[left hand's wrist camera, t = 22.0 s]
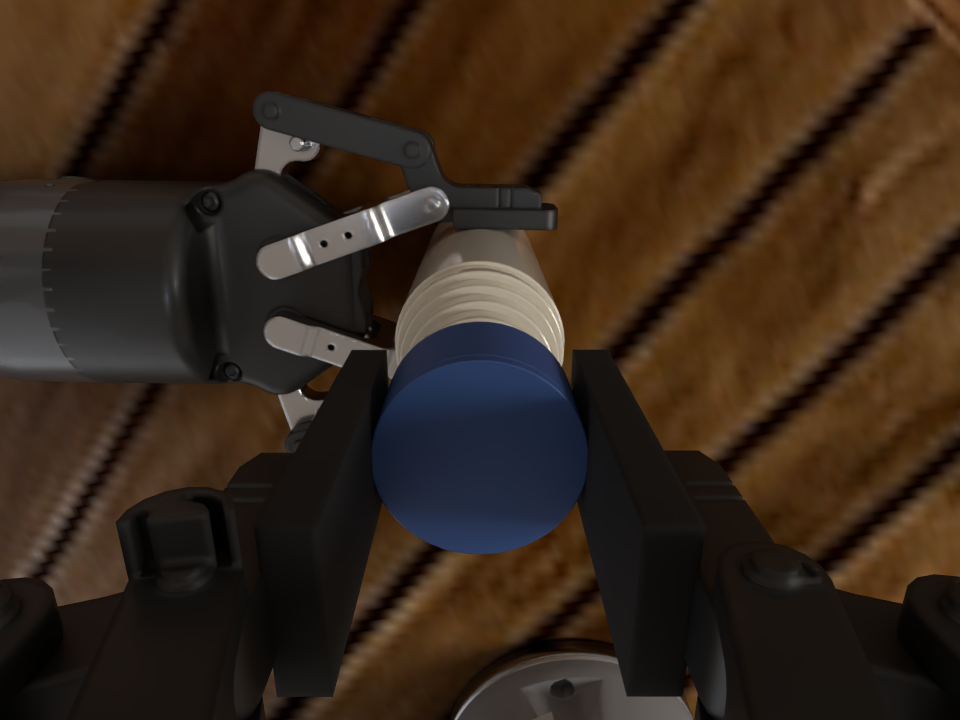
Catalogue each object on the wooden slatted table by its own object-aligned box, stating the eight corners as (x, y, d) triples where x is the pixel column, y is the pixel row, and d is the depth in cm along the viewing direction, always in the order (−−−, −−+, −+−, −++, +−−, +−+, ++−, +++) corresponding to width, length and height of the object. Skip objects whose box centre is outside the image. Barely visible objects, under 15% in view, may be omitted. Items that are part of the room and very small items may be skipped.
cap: (354, 366, 14) (330, 414, 12) (528, 289, 14) (537, 323, 11) (437, 514, 15) (429, 583, 13) (599, 449, 15) (621, 509, 12)
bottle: (407, 258, 31) (307, 452, 13) (476, 181, 30) (471, 274, 12) (482, 324, 32) (487, 587, 14) (551, 252, 31) (653, 437, 13)
